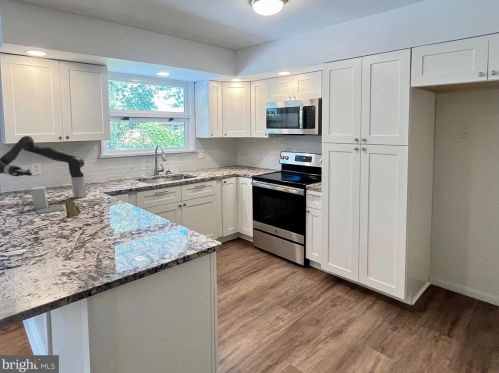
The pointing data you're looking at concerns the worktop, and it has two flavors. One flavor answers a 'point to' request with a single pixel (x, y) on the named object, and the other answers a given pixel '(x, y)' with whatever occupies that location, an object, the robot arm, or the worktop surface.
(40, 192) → the skincare box
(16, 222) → the worktop surface
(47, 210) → the mat
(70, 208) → the rock
